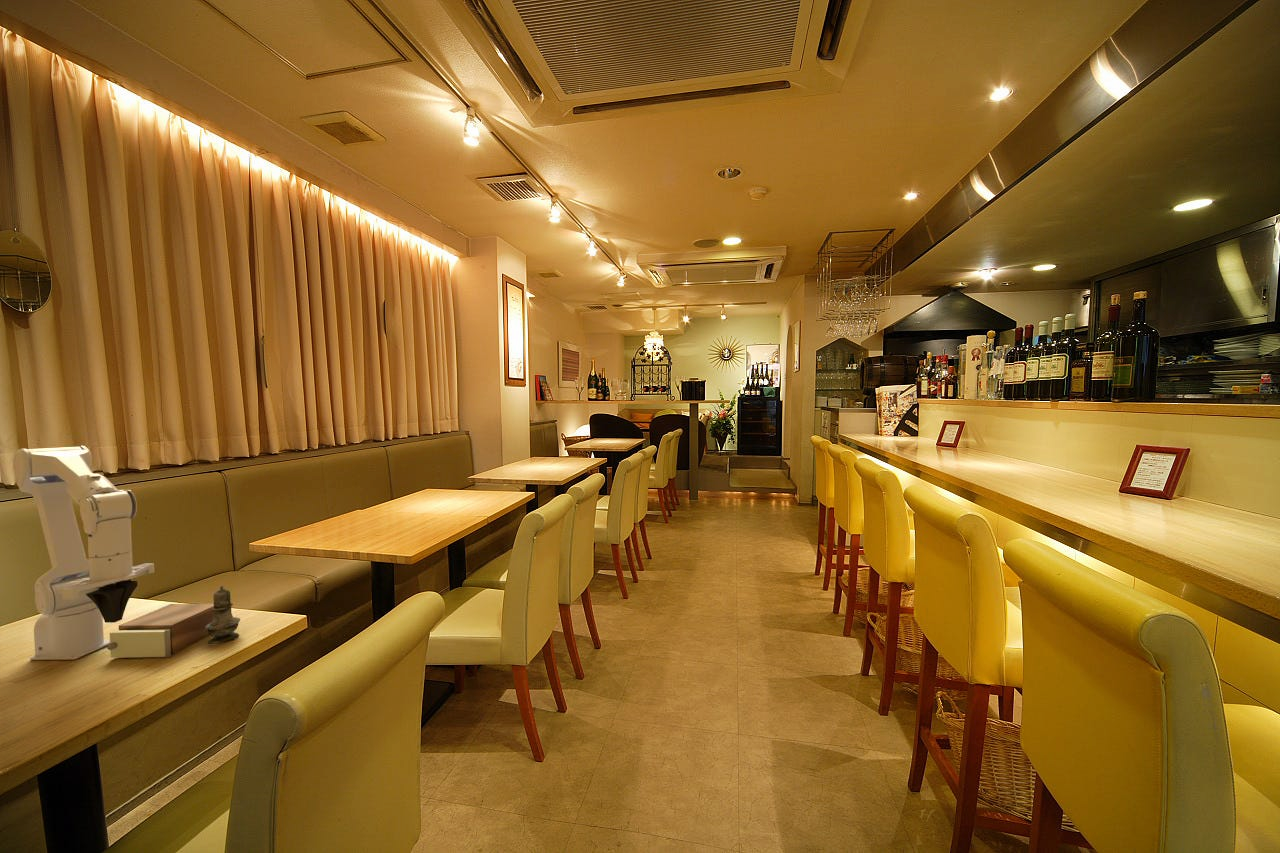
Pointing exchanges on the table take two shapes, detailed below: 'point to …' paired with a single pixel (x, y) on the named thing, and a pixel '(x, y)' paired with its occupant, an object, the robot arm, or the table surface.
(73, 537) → the robot arm
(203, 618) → the cabinet
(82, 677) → the table surface
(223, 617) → the dark tiered stone ornament
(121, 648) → the door
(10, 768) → the table surface
